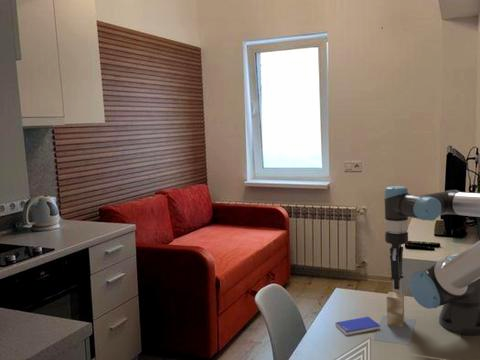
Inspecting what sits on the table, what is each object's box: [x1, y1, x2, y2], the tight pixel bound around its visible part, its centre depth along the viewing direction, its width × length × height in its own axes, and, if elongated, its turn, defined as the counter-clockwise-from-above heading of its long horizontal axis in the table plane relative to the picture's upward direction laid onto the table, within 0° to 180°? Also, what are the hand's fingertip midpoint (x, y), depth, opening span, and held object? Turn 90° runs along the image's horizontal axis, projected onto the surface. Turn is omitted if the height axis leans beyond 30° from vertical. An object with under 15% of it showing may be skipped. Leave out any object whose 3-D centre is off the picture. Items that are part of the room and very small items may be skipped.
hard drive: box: [335, 316, 380, 336], centre depth 160 cm, size 2×8×12 cm
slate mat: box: [373, 315, 416, 346], centre depth 157 cm, size 11×20×1 cm, turn 155°
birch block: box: [386, 291, 405, 327], centre depth 161 cm, size 5×5×10 cm
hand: (397, 296), depth 165 cm, fingers closed
